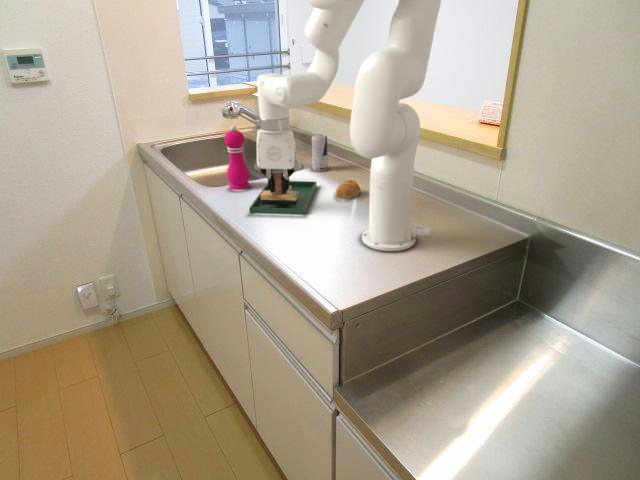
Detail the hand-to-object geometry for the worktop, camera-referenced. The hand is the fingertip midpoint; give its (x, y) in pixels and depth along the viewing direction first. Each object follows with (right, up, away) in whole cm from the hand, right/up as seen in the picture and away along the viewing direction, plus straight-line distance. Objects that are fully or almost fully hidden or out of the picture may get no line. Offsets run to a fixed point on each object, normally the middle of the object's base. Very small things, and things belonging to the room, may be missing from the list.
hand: (279, 190), depth 124 cm
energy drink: (+11, +12, +36) cm, 40 cm away
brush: (0, -3, +2) cm, 4 cm away
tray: (+1, -2, +8) cm, 9 cm away
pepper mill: (-14, +3, +20) cm, 24 cm away
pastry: (+20, 0, +11) cm, 23 cm away
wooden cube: (+1, -2, +6) cm, 7 cm away
